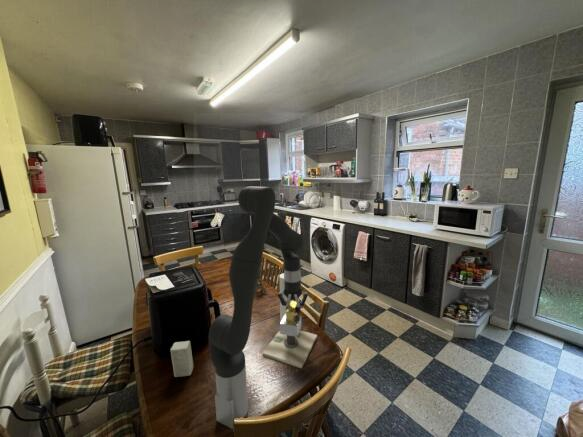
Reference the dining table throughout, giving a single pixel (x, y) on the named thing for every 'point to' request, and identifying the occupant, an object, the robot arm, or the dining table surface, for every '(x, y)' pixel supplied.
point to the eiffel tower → (259, 285)
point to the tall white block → (283, 308)
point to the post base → (291, 348)
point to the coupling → (291, 321)
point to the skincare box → (182, 358)
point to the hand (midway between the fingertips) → (293, 313)
